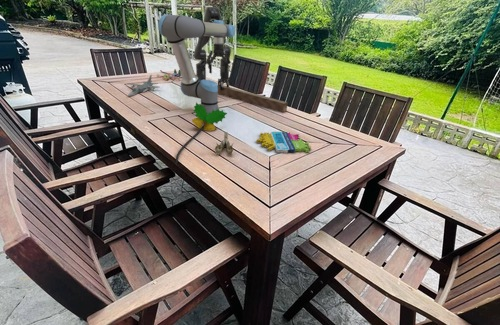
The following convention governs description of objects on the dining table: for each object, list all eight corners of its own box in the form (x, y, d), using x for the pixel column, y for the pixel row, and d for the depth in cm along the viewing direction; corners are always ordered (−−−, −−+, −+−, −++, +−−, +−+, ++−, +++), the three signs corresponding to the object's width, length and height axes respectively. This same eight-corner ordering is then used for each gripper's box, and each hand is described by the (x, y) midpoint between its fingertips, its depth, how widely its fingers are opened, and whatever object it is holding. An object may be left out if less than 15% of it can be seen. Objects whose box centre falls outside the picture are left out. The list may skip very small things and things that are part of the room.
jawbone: (234, 135, 144) (233, 125, 135) (233, 160, 138) (232, 151, 129) (217, 135, 144) (216, 125, 135) (216, 160, 138) (214, 150, 129)
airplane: (122, 86, 238) (120, 75, 233) (157, 84, 251) (156, 73, 246) (126, 99, 210) (124, 86, 204) (166, 95, 223) (165, 83, 218)
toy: (189, 70, 290) (176, 74, 264) (189, 77, 293) (177, 81, 267) (166, 67, 295) (151, 71, 269) (167, 74, 298) (152, 78, 272)
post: (286, 111, 205) (287, 102, 202) (282, 112, 202) (284, 103, 198) (221, 92, 242) (221, 84, 238) (217, 93, 238) (217, 85, 235)
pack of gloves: (313, 150, 142) (258, 149, 139) (312, 153, 143) (258, 152, 140) (301, 132, 164) (254, 130, 161) (301, 134, 165) (254, 133, 162)
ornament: (218, 133, 171) (224, 110, 169) (221, 134, 163) (227, 111, 161) (186, 125, 162) (192, 101, 160) (189, 126, 155) (195, 101, 153)
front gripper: (230, 43, 206) (229, 71, 216) (201, 42, 193) (201, 72, 203) (235, 44, 200) (234, 73, 210) (205, 43, 188) (205, 74, 198)
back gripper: (226, 69, 234) (226, 87, 242) (215, 71, 224) (215, 90, 232) (233, 70, 230) (232, 89, 238) (221, 72, 220) (221, 91, 228)
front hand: (218, 72), depth 207 cm, fingers open, 13 cm apart
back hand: (224, 89), depth 235 cm, fingers open, 8 cm apart
